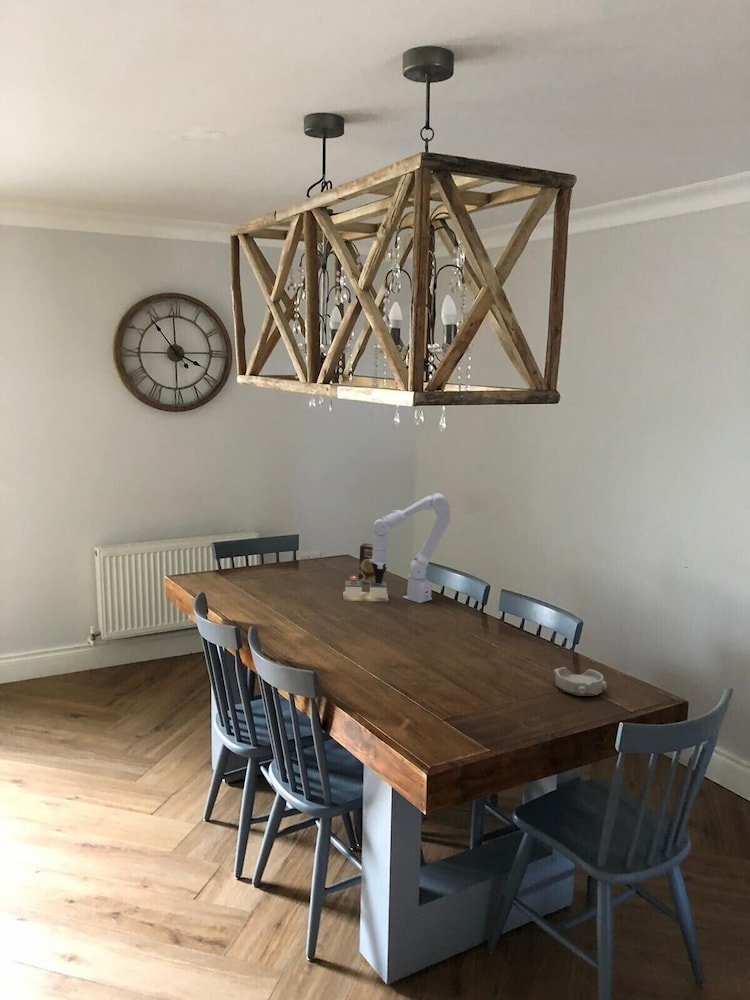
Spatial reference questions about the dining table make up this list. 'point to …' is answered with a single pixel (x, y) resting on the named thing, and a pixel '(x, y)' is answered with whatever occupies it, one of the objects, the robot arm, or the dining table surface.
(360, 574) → the coffee box
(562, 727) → the dining table surface
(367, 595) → the serving board
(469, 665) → the dining table surface
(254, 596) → the dining table surface
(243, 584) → the dining table surface
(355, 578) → the plunger
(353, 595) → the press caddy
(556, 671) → the dish
